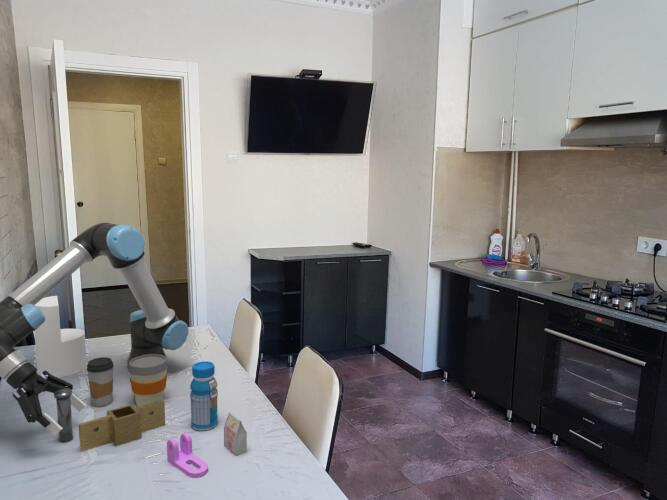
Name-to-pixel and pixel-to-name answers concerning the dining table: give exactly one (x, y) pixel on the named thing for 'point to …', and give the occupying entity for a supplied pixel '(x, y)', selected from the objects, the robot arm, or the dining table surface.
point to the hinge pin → (64, 414)
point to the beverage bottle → (203, 396)
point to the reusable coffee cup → (148, 378)
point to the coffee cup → (100, 381)
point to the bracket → (185, 457)
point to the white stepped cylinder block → (58, 343)
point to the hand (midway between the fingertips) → (71, 420)
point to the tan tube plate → (121, 425)
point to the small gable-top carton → (235, 435)
